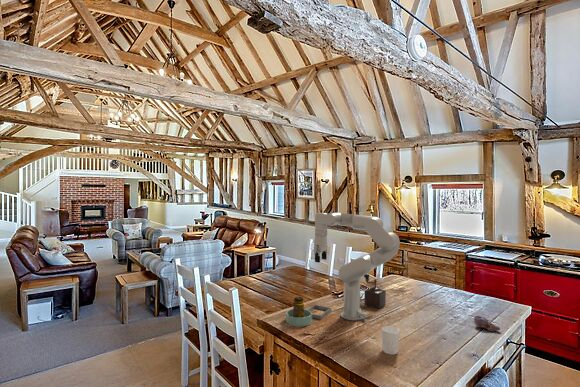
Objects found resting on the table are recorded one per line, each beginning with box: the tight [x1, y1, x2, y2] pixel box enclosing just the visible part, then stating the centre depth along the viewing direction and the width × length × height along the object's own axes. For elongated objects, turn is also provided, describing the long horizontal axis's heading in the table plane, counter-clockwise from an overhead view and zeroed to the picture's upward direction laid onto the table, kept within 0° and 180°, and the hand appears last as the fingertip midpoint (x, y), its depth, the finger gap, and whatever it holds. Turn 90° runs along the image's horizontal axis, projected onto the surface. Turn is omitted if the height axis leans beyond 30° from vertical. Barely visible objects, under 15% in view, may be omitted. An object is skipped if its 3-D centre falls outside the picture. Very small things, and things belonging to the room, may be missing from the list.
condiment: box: [292, 296, 305, 318], centre depth 181 cm, size 7×8×12 cm
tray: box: [306, 304, 332, 321], centre depth 193 cm, size 11×15×2 cm
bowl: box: [285, 308, 313, 327], centre depth 181 cm, size 14×14×4 cm
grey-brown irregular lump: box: [473, 315, 501, 332], centre depth 173 cm, size 12×8×6 cm, turn 41°
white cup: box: [381, 325, 400, 355], centre depth 148 cm, size 8×8×10 cm
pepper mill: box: [363, 273, 387, 309], centre depth 210 cm, size 16×11×18 cm
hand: (320, 260), depth 198 cm, fingers open, 9 cm apart
